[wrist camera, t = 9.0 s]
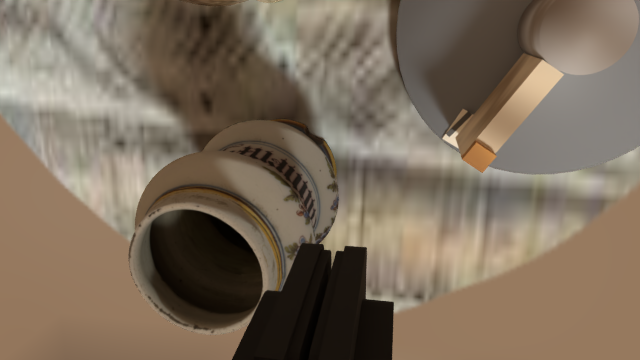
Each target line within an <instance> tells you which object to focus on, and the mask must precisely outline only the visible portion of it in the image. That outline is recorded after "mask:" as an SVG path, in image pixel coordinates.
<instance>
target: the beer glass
mask: <svg viewBox="0 0 640 360" xmlns="http://www.w3.org/2000/svg"><path fill="white" fill-rule="evenodd" d="M180 1H183V2H188V3H192V4H198V5H206V6H229V5H234V4H238V3H242V2H245V1H248V0H180ZM257 1H260V2H263V3H276V2H280V1H282V0H257Z"/></svg>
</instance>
